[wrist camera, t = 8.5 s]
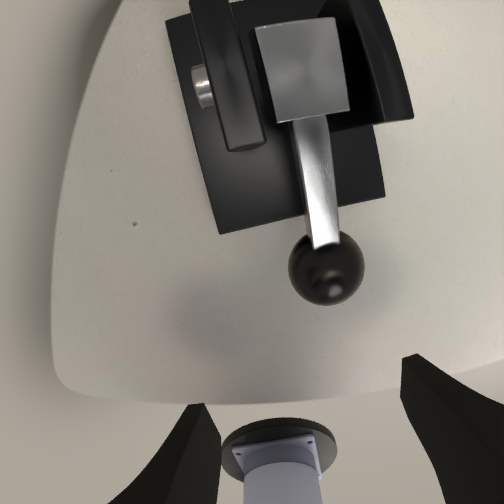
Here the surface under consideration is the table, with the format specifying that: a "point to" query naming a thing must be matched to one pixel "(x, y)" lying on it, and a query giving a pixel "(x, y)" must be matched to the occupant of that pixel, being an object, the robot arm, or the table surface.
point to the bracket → (259, 119)
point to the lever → (311, 147)
